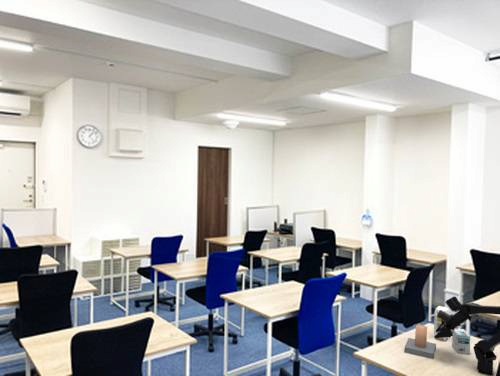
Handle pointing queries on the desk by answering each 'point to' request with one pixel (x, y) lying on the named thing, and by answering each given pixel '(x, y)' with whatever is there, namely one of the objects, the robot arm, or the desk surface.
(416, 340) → the terracotta cylinder
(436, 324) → the juice carton
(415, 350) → the base block
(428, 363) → the desk surface
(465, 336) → the light bulb box
